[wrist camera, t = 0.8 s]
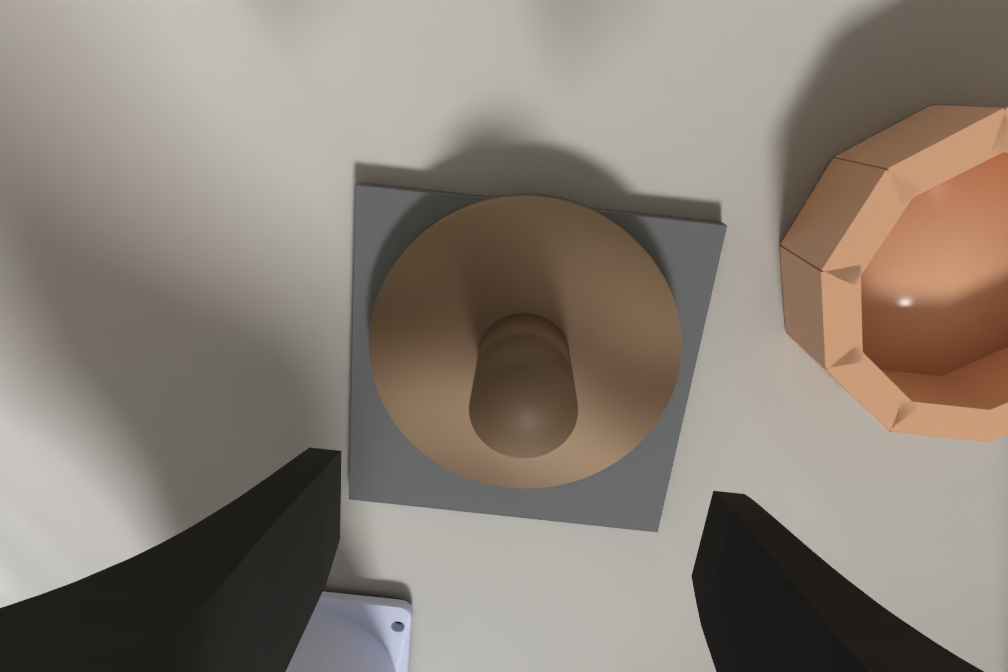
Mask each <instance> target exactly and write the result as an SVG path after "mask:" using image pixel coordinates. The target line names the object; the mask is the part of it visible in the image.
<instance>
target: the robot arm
mask: <svg viewBox="0 0 1008 672" xmlns="http://www.w3.org/2000/svg"><path fill="white" fill-rule="evenodd" d="M340 501H341V451H336V450H327V449H317V448H309V449H307V450H306V451H304V452H303V453H301V454H300V455H298V456H297V457H296V458H294V459H293V460H291V461H290V462H289V463H287V464H286V465H284V466H283V467H282V468H280V469H279V470H278V471H276V472H275V473H273V474H272V475H271V476H269V477H268V478H266V479H265V480H263V481H262V482H261V483H259V484H258V485H256V486H255V487H253V488H252V489H250V490H249V491H248V492H246V493H245V494H243V495H242V496H240V497H239V498H237V499H236V500H234V501H233V502H231V503H229V504H228V505H226V506H225V507H223V508H221V509H220V510H218V511H216V512H215V513H213V514H212V515H210V516H208V517H207V518H205V519H204V520H202V521H200V522H199V523H197V524H196V525H194V526H192V527H190V528H189V529H187V530H185V531H183V532H181V533H180V534H178V535H176V536H174V537H172V538H170V539H169V540H167V541H165V542H163V543H161V544H159V545H157V546H155V547H153V548H151V549H149V550H147V551H145V552H143V553H141V554H139V555H137V556H134V557H132V558H130V559H128V560H125V561H123V562H121V563H118V564H116V565H114V566H111V567H109V568H107V569H104V570H102V571H100V572H97V573H95V574H93V575H90V576H88V577H86V578H83V579H81V580H79V581H76V582H74V583H71V584H68V585H66V586H63V587H60V588H58V589H55V590H52V591H49V592H47V593H44V594H41V595H38V596H35V597H32V598H29V599H26V600H23V601H20V602H17V603H15V604H12V605H9V606H6V607H2V608H0V672H409V663H410V648H411V633H412V618H413V609H412V606H411V605H410V604H409V603H408V602H406V601H404V600H399V599H390V598H380V597H371V596H362V595H352V594H343V593H333V592H324V591H323V589H324V587H325V585H326V582H327V578H328V575H329V572H330V569H331V566H332V563H333V560H334V557H335V553H336V550H337V547H338V543H339V540H340ZM692 581H693V586H694V592H695V597H696V603H697V608H698V612H699V617H700V622H701V626H702V629H703V632H704V635H705V639H706V642H707V645H708V648H709V651H710V653H711V656H712V659H713V662H714V665H715V668H716V671H717V672H983V671H982V670H980V669H978V668H977V667H975V666H973V665H971V664H970V663H968V662H966V661H965V660H963V659H961V658H959V657H958V656H956V655H954V654H953V653H951V652H950V651H948V650H946V649H945V648H943V647H942V646H940V645H938V644H937V643H935V642H934V641H932V640H931V639H929V638H928V637H926V636H925V635H923V634H922V633H920V632H919V631H917V630H916V629H914V628H913V627H911V626H910V625H908V624H907V623H905V622H904V621H902V620H901V619H899V618H898V617H896V616H895V615H894V614H892V613H891V612H889V611H888V610H887V609H885V608H884V607H882V606H881V605H880V604H878V603H877V602H876V601H874V600H873V599H872V598H870V597H869V596H868V595H866V594H865V593H864V592H863V591H861V590H860V589H859V588H857V587H856V586H855V585H853V584H852V583H851V582H850V581H848V580H847V579H846V578H844V577H843V576H842V575H841V574H840V573H838V572H837V571H836V570H835V569H833V568H832V567H831V566H830V565H828V564H827V563H826V562H825V561H824V560H822V559H821V558H820V557H819V556H818V555H817V554H815V553H814V552H813V551H812V550H811V549H809V548H808V547H807V546H806V545H805V544H804V543H802V542H801V541H800V540H799V539H798V538H797V537H796V536H794V535H793V534H792V533H791V532H790V531H789V530H787V529H786V528H785V527H784V526H783V525H782V524H781V523H779V522H778V521H777V520H776V519H775V518H774V517H773V516H771V515H770V514H769V513H768V512H767V511H766V510H764V509H763V508H762V507H761V506H760V505H758V504H757V503H756V502H755V501H753V500H752V499H751V498H749V497H748V496H747V495H745V494H738V493H728V492H719V491H713V495H712V499H711V503H710V506H709V510H708V514H707V518H706V522H705V526H704V530H703V534H702V538H701V542H700V545H699V549H698V553H697V557H696V561H695V565H694V569H693V573H692ZM397 621H398V622H402V623H403V624H397V623H395V622H397Z"/></svg>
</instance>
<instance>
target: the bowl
mask: <svg viewBox="0 0 1008 672" xmlns="http://www.w3.org/2000/svg"><path fill="white" fill-rule="evenodd" d="M780 245H782V246H780V259H781V274H782V289H783V303H784V318H785V331H786V333H787V334H788V335H789V336H790V337H792V338H793V339H794V340H795V341H796V342H797V343H798V344H799V345H800V346H801V347H802V348H803V349H804V350H805V351H806V352H807V353H808V354H809V355H810V356H811V357H812V358H813V359H814V360H815V361H816V362H817V363H818V364H819V365H820V366H821V367H822V368H823V369H824V370H825V371H826V372H827V373H829V374H830V375H831V376H832V377H833V378H834V379H835V380H836V381H837V382H838V383H839V384H840V385H841V386H842V387H843V388H844V389H845V390H846V391H847V392H848V393H849V394H850V395H851V396H852V397H853V398H855V399H856V400H857V401H858V402H859V403H860V404H861V405H862V406H863V407H864V408H865V409H866V410H867V411H868V412H869V413H870V414H871V415H872V416H874V417H875V418H876V419H877V420H878V421H879V422H880V423H881V424H882V425H883V426H884V427H885V428H886V429H887V430H888V431H890V432H898V433H908V434H917V435H926V436H935V437H945V438H954V439H963V440H972V441H982V442H988V441H989V442H990V441H993V440H995V439H997V438H1000V437H1002V436H1004V435H1007V434H1008V108H1006V107H980V106H955V105H930V106H928V107H927V108H925V109H923V110H921V111H919V112H917V113H915V114H913V115H911V116H910V117H908V118H906V119H904V120H902V121H900V122H898V123H896V124H895V125H893V126H891V127H889V128H887V129H885V130H883V131H881V132H880V133H878V134H876V135H874V136H872V137H870V138H868V139H866V140H864V141H863V142H861V143H859V144H857V145H855V146H853V147H851V148H849V149H848V150H846V151H844V152H842V153H840V154H838V155H836V156H835V158H833V159H832V160H831V162H830V164H829V165H828V167H827V168H826V170H825V172H824V173H823V175H822V177H821V178H820V180H819V182H818V183H817V185H816V186H815V188H814V190H813V191H812V193H811V195H810V196H809V198H808V200H807V201H806V203H805V205H804V206H803V208H802V209H801V211H800V213H799V214H798V216H797V218H796V219H795V221H794V223H793V224H792V226H791V227H790V229H789V231H788V232H787V234H786V236H785V237H784V239H783V241H782V242H781V244H780Z"/></svg>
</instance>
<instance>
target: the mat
mask: <svg viewBox="0 0 1008 672" xmlns="http://www.w3.org/2000/svg"><path fill="white" fill-rule="evenodd" d="M491 198H494V197H485V196H475V195H466V194H457V193H448V192H439V191H430V190H420V189H411V188H402V187H393V186H384V185H375V184H366V183H358V184H357V185H356V187H355V235H354V283H353V331H352V380H351V428H350V476H349V499H352V500H361V501H371V502H380V503H389V504H399V505H408V506H417V507H427V508H436V509H445V510H455V511H464V512H473V513H483V514H492V515H501V516H511V517H520V518H529V519H539V520H548V521H557V522H567V523H576V524H585V525H595V526H604V527H613V528H623V529H632V530H641V531H651V532H658V527H659V523H660V519H661V514H662V510H663V505H664V501H665V497H666V492H667V488H668V483H669V479H670V474H671V470H672V466H673V461H674V457H675V452H676V448H677V444H678V439H679V435H680V430H681V426H682V422H683V417H684V413H685V408H686V404H687V400H688V395H689V391H690V386H691V382H692V377H693V373H694V369H695V364H696V360H697V355H698V351H699V347H700V342H701V338H702V333H703V329H704V325H705V320H706V316H707V311H708V307H709V302H710V298H711V294H712V289H713V285H714V280H715V276H716V272H717V267H718V263H719V258H720V254H721V250H722V245H723V241H724V236H725V232H726V228H727V225H725V224H724V223H722V222H713V221H704V220H695V219H686V218H677V217H667V216H658V215H649V214H640V213H631V212H622V211H613V210H603V209H594V208H590V209H593V210H595V211H597V212H599V213H601V214H603V215H605V216H606V217H608V218H609V219H611V220H612V221H614V222H615V223H617V224H618V225H620V226H621V227H622V228H624V229H625V230H626V231H627V232H628V233H629V234H630V235H632V236H633V237H634V238H635V239H636V240H637V241H638V242H639V243H640V245H641V246H642V247H643V248H644V249H645V250H646V251H647V253H648V254H649V255H650V256H651V258H652V259H653V261H654V262H655V264H656V265H657V267H658V268H659V270H660V271H661V273H662V274H663V276H664V278H665V279H666V281H667V284H668V286H669V288H670V290H671V292H672V295H673V297H674V300H675V304H676V307H677V310H678V314H679V319H680V326H681V333H682V356H681V363H680V369H679V375H678V378H677V381H676V385H675V388H674V391H673V394H672V396H671V398H670V400H669V403H668V405H667V407H666V409H665V411H664V412H663V414H662V415H661V417H660V419H659V420H658V422H657V423H656V425H655V426H654V427H653V428H652V430H651V431H650V432H649V433H648V435H647V436H646V437H645V438H644V439H643V440H642V441H641V442H640V443H639V444H638V445H637V446H636V447H635V448H634V449H633V450H632V451H630V452H629V453H628V454H626V455H625V456H624V457H622V458H621V459H620V460H618V461H617V462H616V463H614V464H612V465H610V466H609V467H607V468H605V469H603V470H601V471H600V472H598V473H595V474H593V475H590V476H588V477H586V478H583V479H580V480H577V481H574V482H570V483H567V484H563V485H557V486H551V487H546V488H530V489H523V488H506V487H500V486H494V485H488V484H485V483H481V482H478V481H474V480H471V479H468V478H466V477H464V476H461V475H459V474H456V473H454V472H452V471H450V470H448V469H446V468H445V467H443V466H441V465H439V464H437V463H436V462H435V461H433V460H432V459H430V458H429V457H428V456H426V455H425V454H423V453H422V452H421V451H420V450H419V449H418V448H417V447H416V446H414V445H413V444H412V443H411V442H410V441H409V440H408V439H407V438H406V437H405V435H404V434H403V433H402V432H401V431H400V429H399V428H398V427H397V426H396V424H395V423H394V421H393V420H392V418H391V417H390V415H389V414H388V412H387V411H386V409H385V406H384V404H383V402H382V400H381V398H380V396H379V394H378V391H377V388H376V385H375V382H374V379H373V375H372V369H371V364H370V358H369V332H370V322H371V317H372V313H373V309H374V305H375V301H376V299H377V296H378V294H379V291H380V289H381V287H382V284H383V282H384V280H385V279H386V277H387V275H388V274H389V272H390V270H391V268H392V267H393V265H394V264H395V263H396V261H397V260H398V259H399V257H400V256H401V255H402V254H403V252H404V251H405V250H406V249H407V247H408V246H409V245H410V244H411V243H412V242H413V241H414V240H415V239H416V238H417V237H418V236H419V235H420V234H421V233H422V232H423V231H424V230H425V229H427V228H428V227H430V226H431V225H432V224H434V223H435V222H437V221H438V220H439V219H441V218H442V217H444V216H446V215H448V214H450V213H452V212H454V211H456V210H457V209H459V208H462V207H465V206H467V205H470V204H473V203H475V202H478V201H482V200H486V199H491Z"/></svg>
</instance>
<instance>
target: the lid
mask: <svg viewBox="0 0 1008 672" xmlns="http://www.w3.org/2000/svg"><path fill="white" fill-rule="evenodd" d="M681 356H682V333H681V326H680V319H679V314H678V310H677V307H676V304H675V300H674V297H673V295H672V292H671V290H670V288H669V286H668V284H667V281H666V279H665V278H664V276H663V274H662V273H661V271H660V270H659V268H658V267H657V265H656V264H655V262H654V261H653V259H652V258H651V256H650V255H649V254H648V253H647V251H646V250H645V249H644V248H643V247H642V246H641V245H640V243H639V242H638V241H637V240H636V239H635V238H634V237H633V236H632V235H630V234H629V233H628V232H627V231H626V230H625V229H624V228H622V227H621V226H620V225H618V224H617V223H615V222H614V221H612V220H611V219H609V218H608V217H606V216H605V215H603V214H601V213H599V212H597V211H595V210H593V209H590V208H588V207H586V206H584V205H581V204H578V203H575V202H571V201H568V200H565V199H560V198H555V197H549V196H544V195H523V194H521V195H510V196H499V197H495V198H491V199H486V200H482V201H478V202H475V203H473V204H470V205H467V206H465V207H462V208H459V209H457V210H456V211H454V212H452V213H450V214H448V215H446V216H444V217H442V218H441V219H439V220H438V221H437V222H435V223H434V224H432V225H431V226H430V227H428V228H427V229H425V230H424V231H423V232H422V233H421V234H420V235H419V236H418V237H417V238H416V239H415V240H414V241H413V242H412V243H411V244H410V245H409V246H408V247H407V249H406V250H405V251H404V252H403V254H402V255H401V256H400V257H399V259H398V260H397V261H396V263H395V264H394V265H393V267H392V268H391V270H390V272H389V274H388V275H387V277H386V279H385V280H384V282H383V284H382V287H381V289H380V291H379V294H378V296H377V299H376V301H375V305H374V309H373V313H372V317H371V322H370V332H369V358H370V364H371V369H372V375H373V379H374V382H375V385H376V388H377V391H378V394H379V396H380V398H381V400H382V402H383V404H384V406H385V409H386V411H387V412H388V414H389V415H390V417H391V418H392V420H393V421H394V423H395V424H396V426H397V427H398V428H399V429H400V431H401V432H402V433H403V434H404V435H405V437H406V438H407V439H408V440H409V441H410V442H411V443H412V444H413V445H414V446H416V447H417V448H418V449H419V450H420V451H421V452H422V453H423V454H425V455H426V456H428V457H429V458H430V459H432V460H433V461H435V462H436V463H437V464H439V465H441V466H443V467H445V468H446V469H448V470H450V471H452V472H454V473H456V474H459V475H461V476H464V477H466V478H468V479H471V480H474V481H478V482H481V483H485V484H488V485H494V486H500V487H506V488H523V489H530V488H546V487H551V486H557V485H563V484H567V483H570V482H574V481H577V480H580V479H583V478H586V477H588V476H590V475H593V474H595V473H598V472H600V471H601V470H603V469H605V468H607V467H609V466H610V465H612V464H614V463H616V462H617V461H618V460H620V459H621V458H622V457H624V456H625V455H626V454H628V453H629V452H630V451H632V450H633V449H634V448H635V447H636V446H637V445H638V444H639V443H640V442H641V441H642V440H643V439H644V438H645V437H646V436H647V435H648V433H649V432H650V431H651V430H652V428H653V427H654V426H655V425H656V423H657V422H658V420H659V419H660V417H661V415H662V414H663V412H664V411H665V409H666V407H667V405H668V403H669V400H670V398H671V396H672V394H673V391H674V388H675V385H676V381H677V378H678V375H679V369H680V363H681Z"/></svg>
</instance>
